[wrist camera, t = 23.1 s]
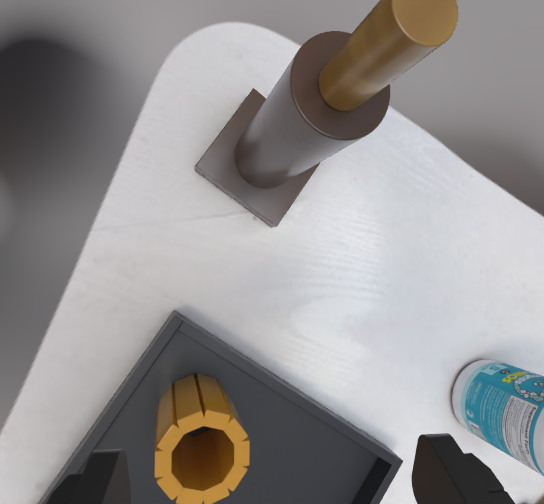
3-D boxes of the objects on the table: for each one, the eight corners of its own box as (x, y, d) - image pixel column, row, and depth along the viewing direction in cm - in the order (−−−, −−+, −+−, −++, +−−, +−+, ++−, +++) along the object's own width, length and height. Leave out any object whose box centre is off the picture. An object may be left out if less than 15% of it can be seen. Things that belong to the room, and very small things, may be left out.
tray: (32, 510, 29) (20, 534, 26) (174, 309, 32) (174, 314, 29) (283, 627, 34) (292, 657, 32) (387, 446, 37) (403, 461, 34)
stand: (194, 169, 32) (250, 9, 11) (249, 95, 33) (399, -183, 12) (271, 227, 34) (452, 188, 12) (321, 154, 35) (565, 5, 14)
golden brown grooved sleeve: (140, 425, 30) (133, 479, 23) (187, 359, 31) (194, 392, 24) (201, 461, 32) (212, 524, 24) (245, 397, 33) (268, 439, 25)
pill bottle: (516, 365, 41) (682, 419, 27) (500, 436, 40) (661, 526, 27) (457, 349, 39) (606, 400, 26) (439, 424, 38) (581, 514, 25)
